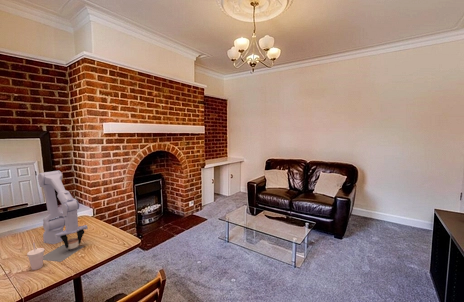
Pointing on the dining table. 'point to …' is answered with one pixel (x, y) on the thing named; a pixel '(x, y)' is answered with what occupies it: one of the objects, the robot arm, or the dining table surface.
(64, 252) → the knob mounting plate
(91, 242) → the dining table surface
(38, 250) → the smoothie
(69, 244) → the cap
